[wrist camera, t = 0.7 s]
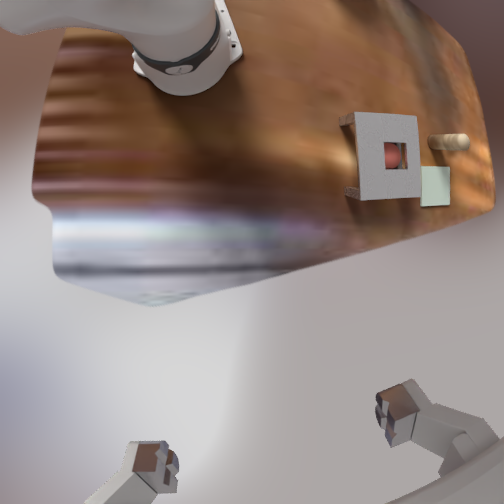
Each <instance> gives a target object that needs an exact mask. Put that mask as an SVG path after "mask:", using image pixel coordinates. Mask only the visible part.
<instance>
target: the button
mask: <svg viewBox="0 0 504 504" xmlns="http://www.w3.org/2000/svg"><path fill="white" fill-rule="evenodd" d="M384 154H385V168H389V169H392V168H395V167H397V166H398V165H399V163H400V160H401V153H400V150H399V149H398V147H397V146H396V145H394V144H392V143H384Z"/></svg>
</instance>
